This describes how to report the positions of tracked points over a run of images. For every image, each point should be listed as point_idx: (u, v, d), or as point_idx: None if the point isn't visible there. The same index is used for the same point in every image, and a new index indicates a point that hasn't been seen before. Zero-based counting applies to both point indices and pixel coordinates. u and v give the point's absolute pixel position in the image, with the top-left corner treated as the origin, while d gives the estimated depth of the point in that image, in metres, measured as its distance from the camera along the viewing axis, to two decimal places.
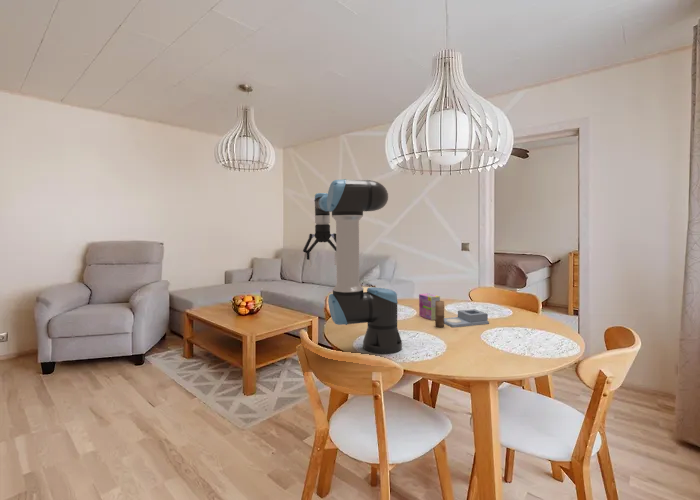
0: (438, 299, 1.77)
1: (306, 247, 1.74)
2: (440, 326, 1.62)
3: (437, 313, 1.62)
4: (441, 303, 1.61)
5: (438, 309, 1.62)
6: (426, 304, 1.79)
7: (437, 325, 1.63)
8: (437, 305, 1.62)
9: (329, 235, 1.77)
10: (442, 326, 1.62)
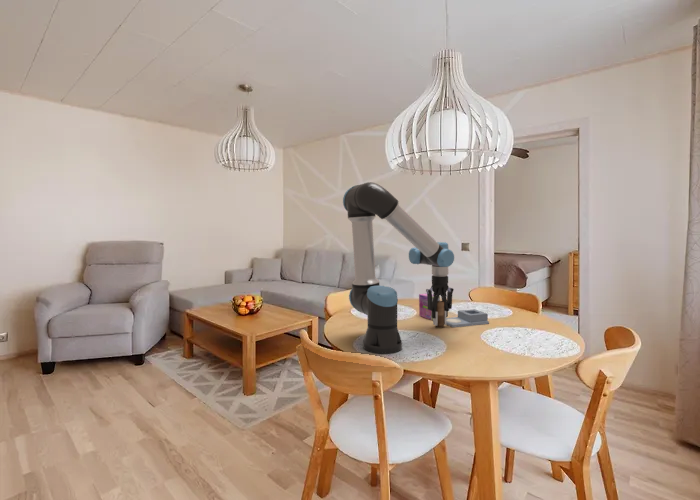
0: (438, 299, 1.77)
1: (431, 305, 1.61)
2: (440, 326, 1.62)
3: None
4: (441, 303, 1.61)
5: (438, 309, 1.62)
6: (426, 304, 1.79)
7: (437, 325, 1.63)
8: (437, 305, 1.62)
9: (447, 287, 1.63)
10: (442, 326, 1.62)
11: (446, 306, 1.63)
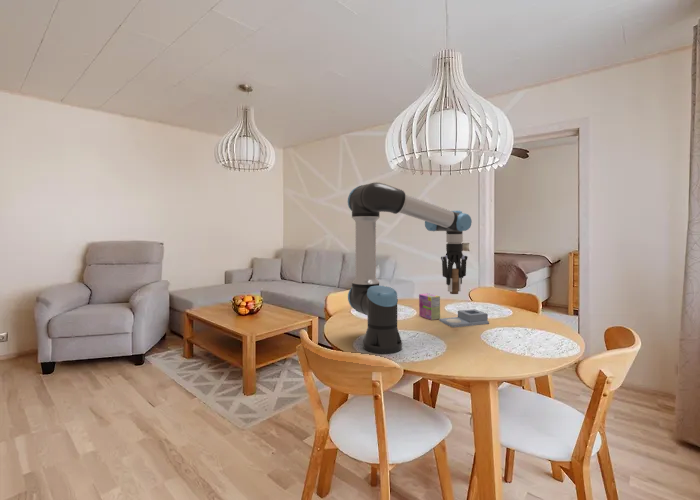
0: (438, 299, 1.77)
1: (446, 271, 1.65)
2: (455, 292, 1.67)
3: (452, 280, 1.67)
4: (456, 270, 1.66)
5: (453, 276, 1.66)
6: (426, 304, 1.79)
7: (452, 291, 1.67)
8: (452, 272, 1.67)
9: (461, 255, 1.67)
10: (456, 292, 1.67)
11: (460, 273, 1.68)
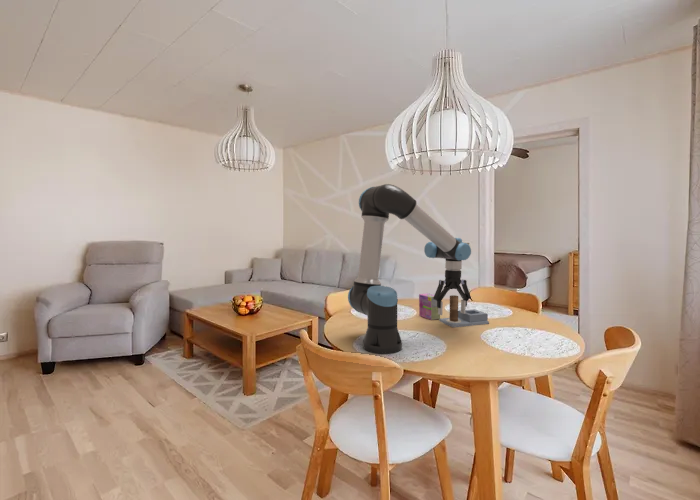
0: None
1: (438, 295, 1.65)
2: (454, 320, 1.67)
3: (452, 307, 1.68)
4: (455, 297, 1.67)
5: (452, 303, 1.67)
6: (426, 304, 1.79)
7: (451, 319, 1.68)
8: (451, 299, 1.68)
9: (460, 281, 1.68)
10: (456, 320, 1.68)
11: (464, 296, 1.69)
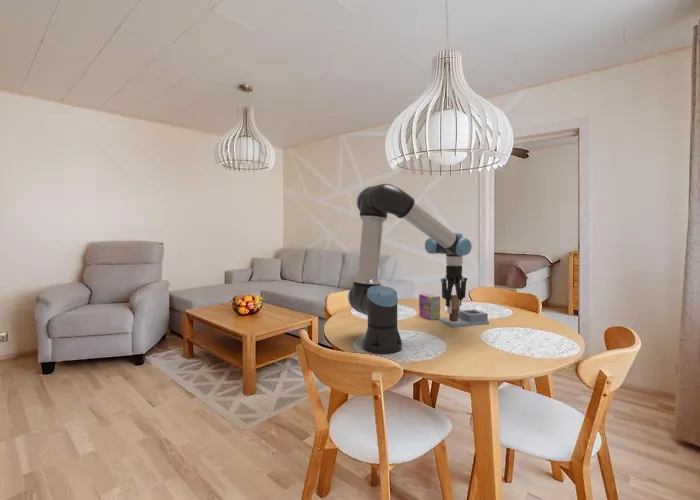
0: (438, 299, 1.77)
1: (445, 293, 1.66)
2: (454, 319, 1.67)
3: None
4: (455, 297, 1.67)
5: (452, 303, 1.67)
6: (426, 304, 1.79)
7: (451, 318, 1.68)
8: (451, 299, 1.67)
9: (461, 277, 1.68)
10: (456, 319, 1.68)
11: (460, 295, 1.68)
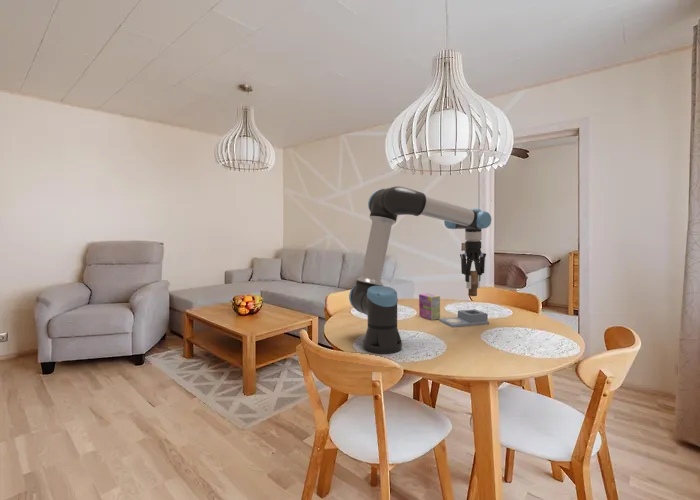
0: (438, 299, 1.77)
1: (465, 269, 1.68)
2: (473, 294, 1.70)
3: (471, 282, 1.70)
4: (474, 272, 1.69)
5: (471, 278, 1.69)
6: (426, 304, 1.79)
7: (470, 293, 1.70)
8: (470, 274, 1.70)
9: (480, 252, 1.70)
10: (475, 294, 1.70)
11: (479, 270, 1.71)
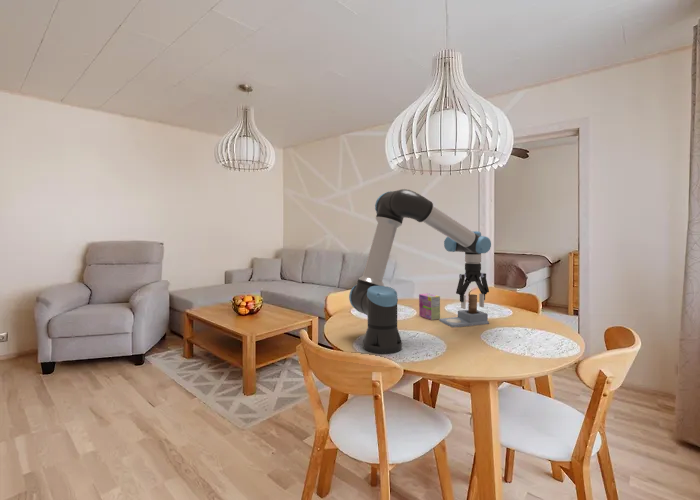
0: (438, 299, 1.77)
1: (460, 289, 1.68)
2: None
3: (471, 306, 1.71)
4: (474, 296, 1.70)
5: (471, 302, 1.70)
6: (426, 304, 1.79)
7: None
8: (470, 298, 1.71)
9: (479, 274, 1.71)
10: None
11: (483, 290, 1.72)
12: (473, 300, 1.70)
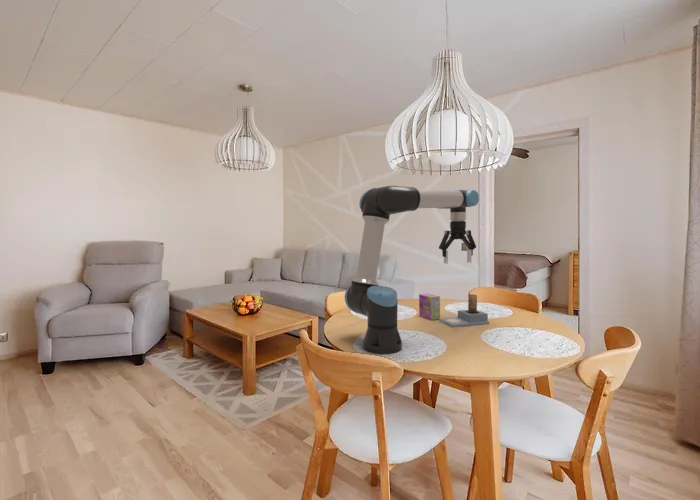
0: (438, 299, 1.77)
1: (443, 244, 1.72)
2: None
3: (470, 306, 1.71)
4: (474, 296, 1.70)
5: (471, 302, 1.70)
6: (426, 304, 1.79)
7: None
8: (470, 298, 1.70)
9: (464, 232, 1.75)
10: None
11: (470, 246, 1.77)
12: (473, 300, 1.70)
